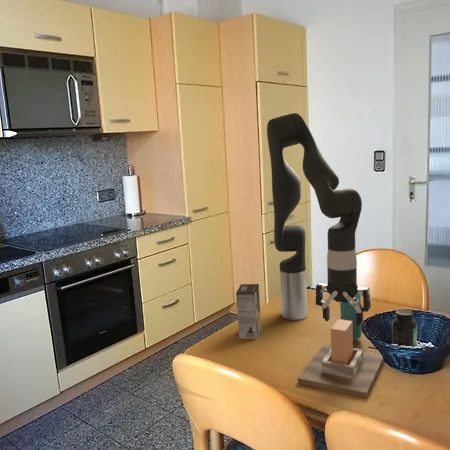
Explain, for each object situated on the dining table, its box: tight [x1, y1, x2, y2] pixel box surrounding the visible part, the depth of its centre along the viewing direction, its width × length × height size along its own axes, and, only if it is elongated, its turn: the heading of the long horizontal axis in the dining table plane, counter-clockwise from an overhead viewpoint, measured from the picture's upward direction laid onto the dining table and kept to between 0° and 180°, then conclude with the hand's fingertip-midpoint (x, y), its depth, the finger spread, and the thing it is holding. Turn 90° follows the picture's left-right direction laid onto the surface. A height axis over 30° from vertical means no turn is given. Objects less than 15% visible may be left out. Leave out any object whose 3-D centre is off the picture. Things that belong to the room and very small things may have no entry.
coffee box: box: [235, 283, 262, 340], centre depth 157 cm, size 9×6×16 cm
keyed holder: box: [297, 344, 385, 399], centre depth 130 cm, size 22×18×4 cm
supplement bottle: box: [391, 308, 418, 347], centre depth 139 cm, size 7×7×12 cm
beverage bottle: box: [339, 292, 363, 341], centre depth 147 cm, size 6×7×20 cm
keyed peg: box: [330, 318, 354, 365], centre depth 129 cm, size 4×7×12 cm, turn 150°
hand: (342, 322), depth 128 cm, fingers open, 8 cm apart
